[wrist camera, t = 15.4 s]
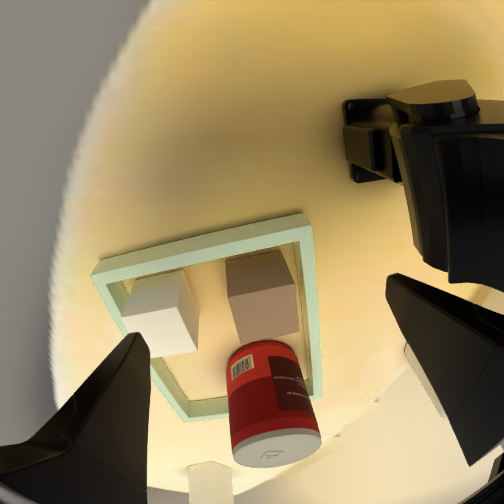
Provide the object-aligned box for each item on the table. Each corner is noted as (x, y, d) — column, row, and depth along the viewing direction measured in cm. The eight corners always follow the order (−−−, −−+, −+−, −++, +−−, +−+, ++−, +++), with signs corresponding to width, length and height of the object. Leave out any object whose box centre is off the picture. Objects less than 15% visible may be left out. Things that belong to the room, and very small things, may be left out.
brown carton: (280, 249, 23) (294, 283, 19) (286, 293, 25) (299, 331, 21) (225, 260, 23) (227, 297, 19) (236, 304, 25) (240, 343, 21)
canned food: (222, 384, 30) (228, 470, 21) (229, 337, 27) (238, 437, 17) (286, 384, 32) (306, 464, 22) (304, 338, 28) (336, 429, 19)
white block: (183, 269, 23) (176, 306, 19) (199, 310, 25) (197, 351, 21) (135, 280, 23) (120, 317, 19) (154, 319, 25) (145, 358, 21)
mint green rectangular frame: (301, 212, 22) (311, 225, 20) (316, 381, 32) (322, 397, 30) (100, 260, 22) (90, 275, 20) (184, 406, 32) (183, 422, 30)
